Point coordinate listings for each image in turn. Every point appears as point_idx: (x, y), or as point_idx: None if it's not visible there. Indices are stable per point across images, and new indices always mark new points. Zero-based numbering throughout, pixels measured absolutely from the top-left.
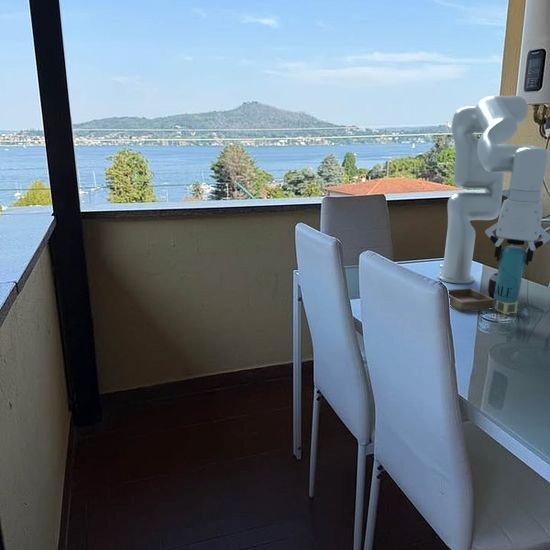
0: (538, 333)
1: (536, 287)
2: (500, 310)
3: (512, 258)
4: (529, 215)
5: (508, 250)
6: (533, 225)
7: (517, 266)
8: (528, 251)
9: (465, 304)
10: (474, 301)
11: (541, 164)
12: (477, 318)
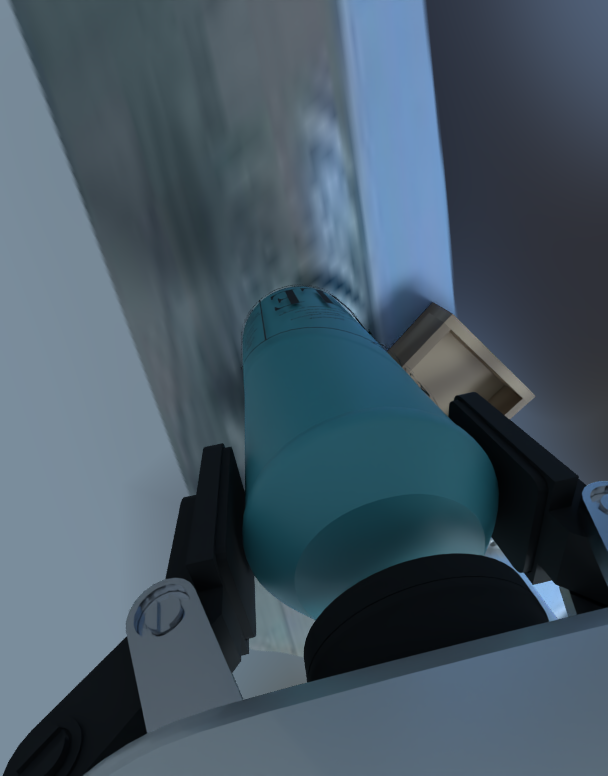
0: (132, 261)
1: (264, 635)
2: None
3: (355, 397)
4: None
5: (446, 466)
6: None
7: (283, 383)
8: (216, 554)
9: (434, 325)
10: (408, 361)
11: None
12: (368, 275)
